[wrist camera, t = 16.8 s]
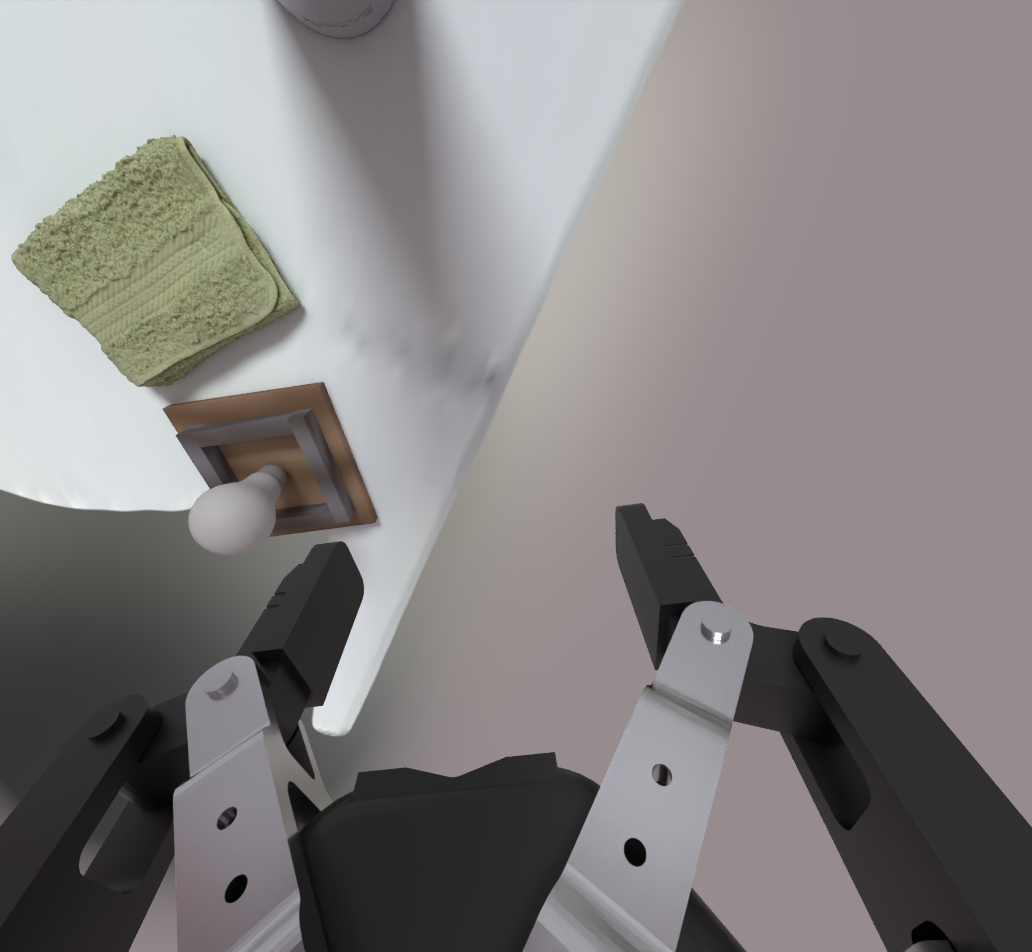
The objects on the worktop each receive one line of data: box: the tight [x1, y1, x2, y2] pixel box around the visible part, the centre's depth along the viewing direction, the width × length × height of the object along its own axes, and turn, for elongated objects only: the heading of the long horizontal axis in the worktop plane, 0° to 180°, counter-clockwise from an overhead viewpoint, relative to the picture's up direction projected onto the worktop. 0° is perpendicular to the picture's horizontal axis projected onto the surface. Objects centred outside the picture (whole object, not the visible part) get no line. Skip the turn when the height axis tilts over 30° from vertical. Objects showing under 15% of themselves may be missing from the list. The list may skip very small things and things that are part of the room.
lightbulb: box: [189, 464, 287, 555], centre depth 37 cm, size 6×6×11 cm
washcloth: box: [11, 135, 300, 387], centre depth 32 cm, size 13×18×3 cm
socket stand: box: [163, 382, 377, 537], centre depth 41 cm, size 16×15×3 cm
